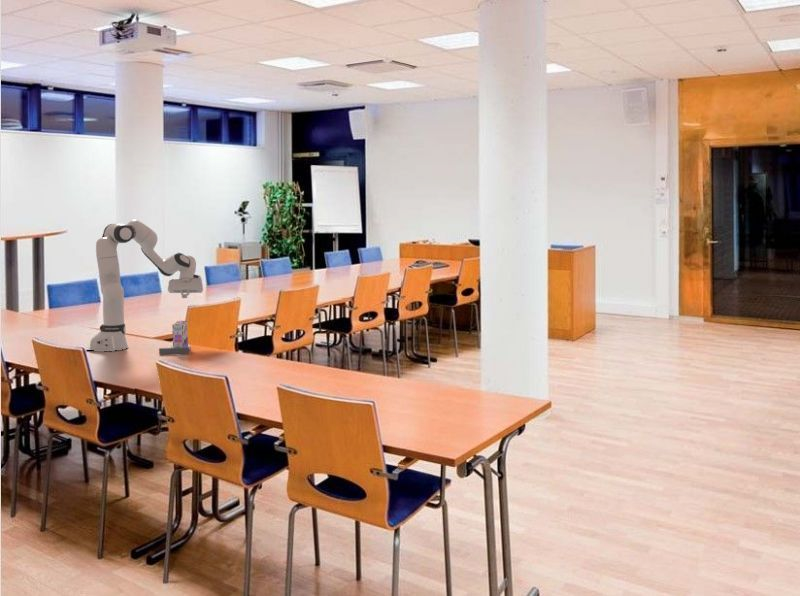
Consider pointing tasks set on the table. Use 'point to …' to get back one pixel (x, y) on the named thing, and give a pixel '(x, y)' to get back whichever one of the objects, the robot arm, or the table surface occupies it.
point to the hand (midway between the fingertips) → (184, 297)
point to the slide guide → (174, 350)
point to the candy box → (180, 334)
